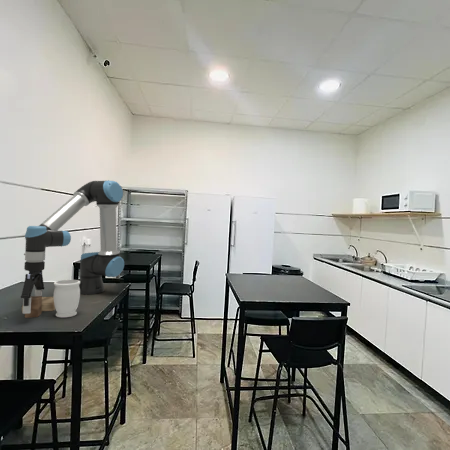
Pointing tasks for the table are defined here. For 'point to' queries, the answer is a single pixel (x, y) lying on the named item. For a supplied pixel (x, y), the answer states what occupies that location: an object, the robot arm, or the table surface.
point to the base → (47, 304)
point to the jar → (66, 297)
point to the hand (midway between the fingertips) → (32, 309)
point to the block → (35, 307)
